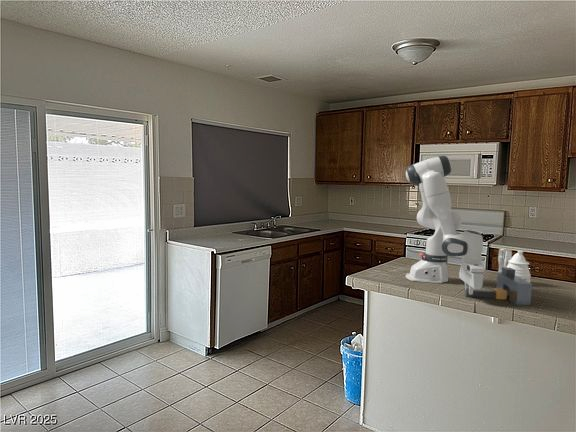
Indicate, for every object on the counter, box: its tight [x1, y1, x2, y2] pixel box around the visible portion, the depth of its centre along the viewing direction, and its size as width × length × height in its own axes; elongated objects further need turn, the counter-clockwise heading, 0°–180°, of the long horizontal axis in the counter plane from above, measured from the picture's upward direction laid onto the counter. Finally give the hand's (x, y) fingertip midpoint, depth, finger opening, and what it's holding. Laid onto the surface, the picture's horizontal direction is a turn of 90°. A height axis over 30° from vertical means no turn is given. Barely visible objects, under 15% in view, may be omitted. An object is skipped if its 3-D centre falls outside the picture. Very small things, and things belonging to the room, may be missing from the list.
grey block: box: [496, 267, 533, 307], centre depth 194 cm, size 6×21×13 cm, turn 176°
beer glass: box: [497, 248, 513, 273], centre depth 241 cm, size 7×7×15 cm
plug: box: [464, 287, 508, 300], centre depth 195 cm, size 18×4×4 cm, turn 86°
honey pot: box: [507, 250, 532, 283], centre depth 223 cm, size 13×13×18 cm
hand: (469, 293), depth 196 cm, fingers closed on plug, 2 cm apart
